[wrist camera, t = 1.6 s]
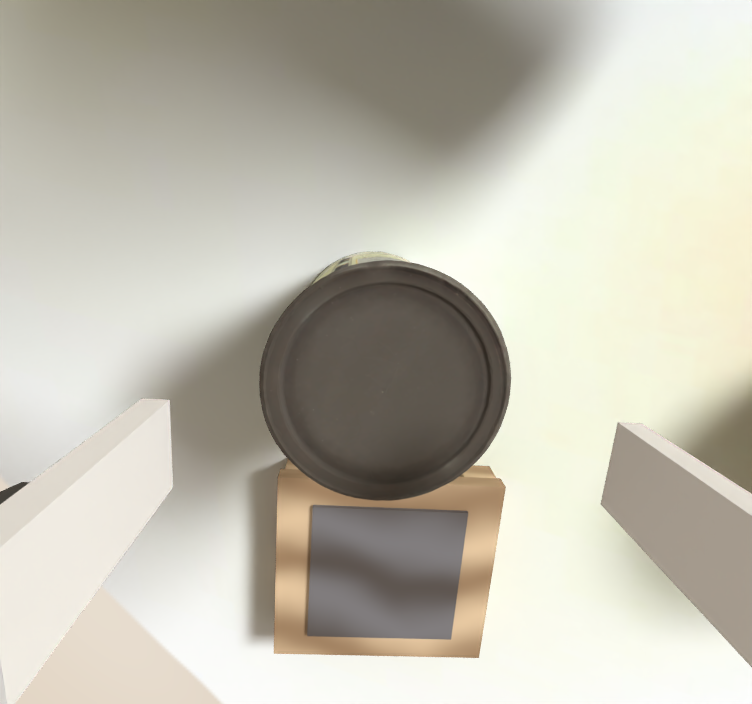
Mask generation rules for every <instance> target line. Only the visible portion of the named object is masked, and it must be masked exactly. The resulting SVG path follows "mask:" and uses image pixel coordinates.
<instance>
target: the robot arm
mask: <svg viewBox="0 0 752 704" xmlns="http://www.w3.org/2000/svg"><path fill="white" fill-rule="evenodd" d="M172 488H173V472H172V446H171V420H170V400H164V399H145V398H142V399H140V400H139V401H138V402H136V403H135V404H134V405H132V406H131V407H130V408H128V409H127V410H126V411H124V412H123V413H122V414H120V415H119V416H118V417H116V418H115V419H114V420H112V421H111V422H110V423H108V424H107V425H106V426H104V427H103V428H102V429H100V430H99V431H98V432H96V433H95V434H94V435H92V436H91V437H90V438H88V439H87V440H86V441H84V442H83V443H82V444H80V445H79V446H78V447H76V448H75V449H74V450H72V451H71V452H70V453H68V454H67V455H66V456H64V457H63V458H62V459H60V460H59V461H58V462H56V463H55V464H54V465H52V466H51V467H50V468H48V469H47V470H46V471H44V472H43V473H42V474H40V475H39V476H38V477H36V478H35V479H34V480H32V481H31V482H30V483H28V482H21V483H19V484H17V485H14V486H12V487H10V488H8V489H6V490H3V491H1V492H0V704H15V703H16V702H17V701H18V699H19V698H20V697H21V695H22V694H23V693H24V691H25V690H26V688H27V687H28V686H29V684H30V683H31V682H32V680H33V679H34V677H35V676H36V675H37V673H38V672H39V671H40V669H41V668H42V666H43V665H44V663H45V662H46V661H47V660H48V658H49V657H50V655H51V654H52V653H53V651H54V650H55V649H56V647H57V646H58V645H59V643H60V642H61V640H62V639H63V638H64V636H65V635H66V634H67V632H68V631H69V629H70V628H71V627H72V625H73V624H74V623H75V621H76V620H77V619H78V617H79V616H80V614H81V613H82V612H83V610H84V609H85V607H86V606H87V605H88V603H89V602H90V600H91V599H92V598H93V597H94V595H95V594H96V592H97V591H98V590H99V588H100V587H101V586H102V584H103V583H104V582H105V580H106V579H107V577H108V576H109V575H110V573H111V572H112V571H113V569H114V568H115V566H116V565H117V564H118V562H119V561H120V560H121V558H122V557H123V555H124V554H125V553H126V551H127V550H128V549H129V547H130V546H131V544H132V543H133V542H134V540H135V539H136V538H137V536H138V535H139V534H140V532H141V531H142V529H143V528H144V527H145V525H146V524H147V523H148V521H149V520H150V518H151V517H152V516H153V514H154V513H155V512H156V510H157V509H158V507H159V506H160V505H161V503H162V502H163V501H164V499H165V498H166V497H167V495H168V494H169V492H170V491H171V490H172ZM601 505H602V506H603V507H604V508H605V509H606V511H607V512H608V513H609V514H610V515H611V516H612V517H613V518H614V519H615V520H616V521H617V522H618V523H619V525H620V526H621V527H622V528H623V529H624V530H625V531H626V532H627V533H628V534H629V535H630V536H631V537H632V539H633V540H634V541H635V542H636V543H637V544H638V545H639V546H640V547H641V548H642V549H643V550H644V552H645V553H646V554H647V555H648V556H649V557H650V558H651V559H652V560H653V561H654V562H655V563H656V564H657V566H658V567H659V568H660V569H661V570H662V571H663V572H664V573H665V574H666V575H667V576H668V577H669V579H670V580H671V581H672V582H673V583H674V584H675V585H676V586H677V587H678V588H679V589H680V590H681V591H682V593H683V594H684V595H685V596H686V597H687V598H688V599H689V600H690V601H691V602H692V603H693V604H694V606H695V607H696V608H697V609H698V610H699V611H700V612H701V613H702V614H703V615H704V616H705V617H706V618H707V620H708V621H709V622H710V623H711V624H712V625H713V626H714V627H715V628H716V629H717V630H718V631H719V633H720V634H721V635H722V636H723V637H724V638H725V639H726V640H727V641H728V642H729V643H730V644H731V645H732V647H733V648H734V649H735V650H736V651H737V652H738V653H739V654H740V655H741V656H742V657H743V658H744V659H745V661H746V662H747V663H748V664H749V665H750V666H751V667H752V494H751V493H750V492H748V491H746V490H745V489H743V488H742V487H740V486H739V485H737V484H736V483H734V482H732V481H731V480H729V479H728V478H726V477H725V476H723V475H722V474H720V473H718V472H717V471H715V470H714V469H712V468H711V467H709V466H708V465H706V464H704V463H703V462H701V461H700V460H698V459H697V458H695V457H694V456H692V455H690V454H689V453H687V452H686V451H684V450H683V449H681V448H680V447H678V446H676V445H675V444H673V443H672V442H670V441H669V440H667V439H666V438H664V437H662V436H661V435H659V434H658V433H656V432H655V431H653V430H652V429H650V428H648V427H647V426H645V425H644V424H640V423H620V422H618V424H617V429H616V434H615V439H614V443H613V448H612V453H611V457H610V462H609V467H608V472H607V476H606V481H605V486H604V491H603V495H602V500H601Z"/></svg>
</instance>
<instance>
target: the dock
mask: <svg viewBox="0 0 752 704" xmlns="http://www.w3.org/2000/svg"><path fill="white" fill-rule="evenodd" d="M505 488H506V487H505V485H504V484H503V482H502V480H501V479H499V478H496V477H495V475H494V473H493V472H492V470H491V468H490V467H489V466H471V467H470V468H469V469H468V470H467V471H466V472H464V473H463V474H462V475H460V476H459V477H458V478H456V479H455V480H454V481H452V482H450V483H448V484H446V485H444V486H442V487H440V488H438V489H436V490H434V491H432V492H429V493H426V494H423V495H420V496H416V497H412V498H407V499H401V500H393V501H385V500H381V501H374V500H366V499H359V498H354V497H350V496H345V495H342V494H339V493H337V492H334V491H332V490H329V489H327V488H325V487H323V486H321V485H319V484H318V483H316V482H315V481H313V480H312V479H310V478H309V477H307V476H306V475H305V474H304V473H302V472H301V471H300V470H299V469H298V468H297V467H296V466H295V465H294V464H293V463H292V462H291V461H290V460H289V459H288V460H287V463H286V467H285V469H280V472H279V475H278V488H277V533H276V578H275V623H274V654H321V655H370V656H418V657H466V658H479V653H480V647H481V640H482V634H483V628H484V621H485V615H486V609H487V602H488V596H489V589H490V583H491V577H492V570H493V564H494V558H495V551H496V545H497V539H498V532H499V526H500V519H501V513H502V507H503V500H504V494H505Z"/></svg>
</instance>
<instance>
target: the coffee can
mask: <svg viewBox="0 0 752 704" xmlns="http://www.w3.org/2000/svg"><path fill="white" fill-rule="evenodd" d="M259 385H260V398H261V404H262V410H263V413H264V417H265V421H266V423H267V426H268V428H269V431H270V433H271V435H272V437H273V438H274V440H275V442H276V444H277V445H278V446H279V448H280V449H281V451H282V452H283V453H284V455H285V456H286V457H287V458H288V459H289V460H290V461H291V462H292V463H293V464H294V465H295V466H296V467H297V468H298V469H299V470H300V471H301V472H302V473H304V474H305V475H306V476H307V477H309V478H310V479H312V480H313V481H315V482H316V483H318V484H319V485H321V486H323V487H325V488H327V489H329V490H332V491H334V492H337V493H339V494H342V495H345V496H350V497H354V498H359V499H366V500H374V501H381V500H385V501H393V500H401V499H407V498H412V497H416V496H420V495H423V494H426V493H429V492H432V491H434V490H436V489H438V488H440V487H442V486H444V485H446V484H448V483H450V482H452V481H454V480H455V479H456V478H458V477H459V476H460V475H462V474H463V473H464V472H466V471H467V470H468V469H469V468H470V467H471V466H472V465H473V464H474V463H475V462H477V460H478V459H479V458H480V457H481V456H482V455H483V454H484V453H485V451H486V450H487V449H488V447H489V446H490V444H491V443H492V441H493V440H494V438H495V436H496V434H497V433H498V431H499V429H500V427H501V424H502V421H503V419H504V416H505V413H506V410H507V406H508V402H509V396H510V386H511V370H510V361H509V356H508V351H507V347H506V345H505V342H504V339H503V336H502V333H501V331H500V329H499V327H498V325H497V323H496V321H495V320H494V318H493V316H492V315H491V314H490V312H489V311H488V310H487V308H486V307H485V305H484V304H483V303H482V302H481V301H480V300H479V299H478V298H477V297H476V296H475V295H474V294H473V293H472V292H471V291H470V290H468V289H467V288H466V287H465V286H464V285H462V284H461V283H459V282H458V281H456V280H455V279H453V278H452V277H450V276H448V275H445V274H443V273H441V272H439V271H437V270H434V269H432V268H428V267H426V266H423V265H419V264H415V263H411V262H409V261H408V260H406V259H403V258H401V257H399V256H396V255H392V254H388V253H384V252H362V253H356V254H352V255H349V256H346V257H344V258H342V259H340V260H338V261H336V262H334V263H333V264H331V265H330V266H328V267H327V268H326V269H325V270H324V271H323V272H322V273H321V274H320V275H319V276H318V277H317V278H316V279H315V281H314V282H313V283H312V285H311V286H310V287H308V288H307V289H306V290H304V291H303V292H302V293H301V294H300V295H299V296H298V297H297V298H296V299H295V300H294V301H293V302H292V303H291V304H290V305H289V306H288V307H287V309H286V310H285V311H284V313H283V314H282V315H281V317H280V318H279V320H278V321H277V323H276V325H275V326H274V328H273V330H272V332H271V334H270V336H269V339H268V341H267V344H266V347H265V350H264V353H263V356H262V361H261V367H260V384H259Z"/></svg>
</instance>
